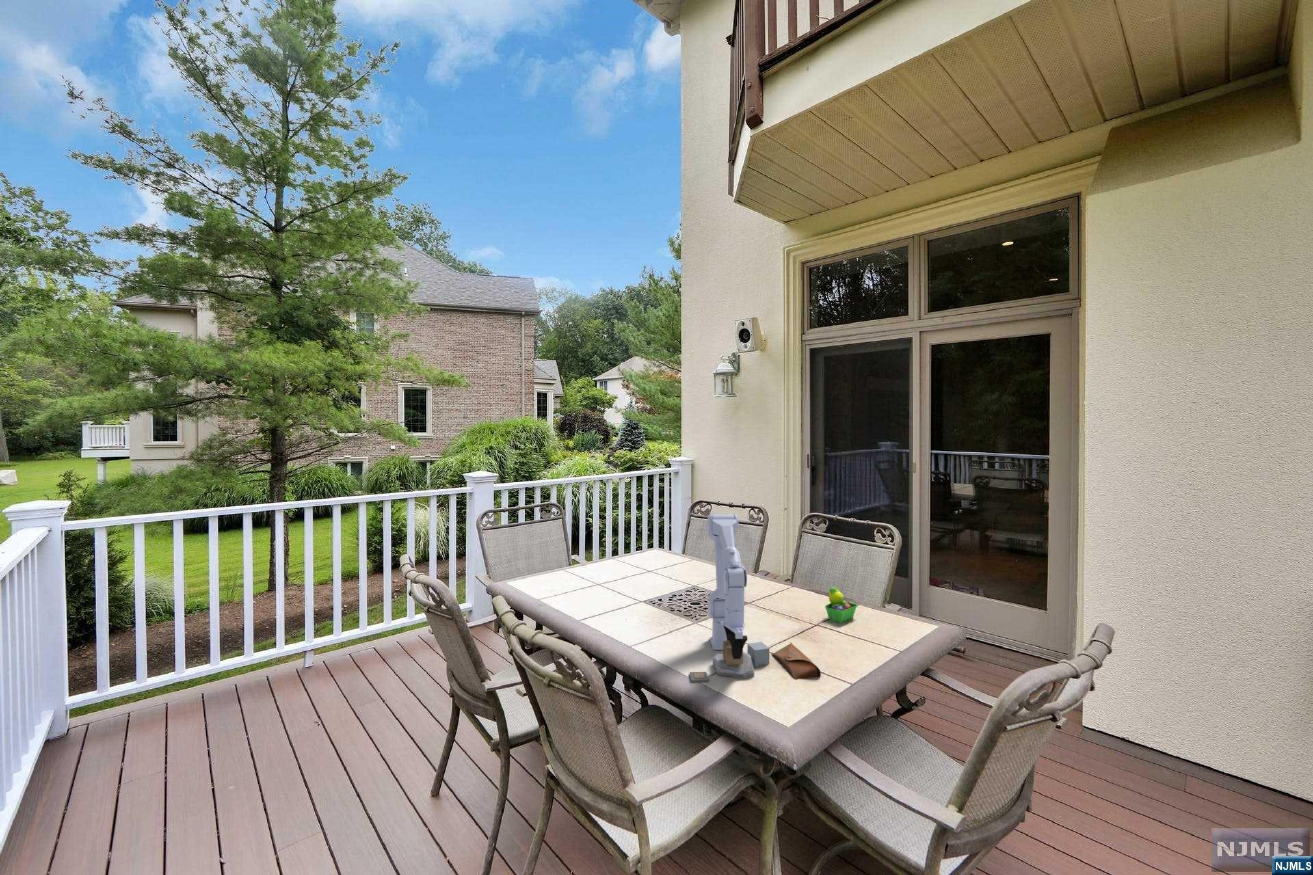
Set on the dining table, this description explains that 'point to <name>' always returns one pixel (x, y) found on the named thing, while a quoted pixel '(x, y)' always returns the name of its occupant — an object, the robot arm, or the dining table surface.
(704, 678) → the tile
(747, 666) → the stone block
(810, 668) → the sunglasses case
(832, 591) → the fruit basket
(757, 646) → the blue-grey cube
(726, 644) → the walnut cube
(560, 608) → the dining table surface
